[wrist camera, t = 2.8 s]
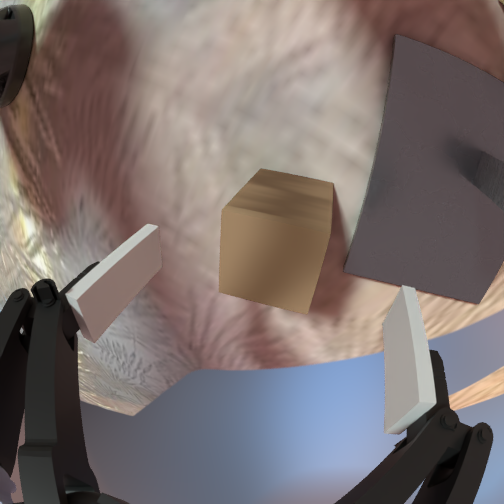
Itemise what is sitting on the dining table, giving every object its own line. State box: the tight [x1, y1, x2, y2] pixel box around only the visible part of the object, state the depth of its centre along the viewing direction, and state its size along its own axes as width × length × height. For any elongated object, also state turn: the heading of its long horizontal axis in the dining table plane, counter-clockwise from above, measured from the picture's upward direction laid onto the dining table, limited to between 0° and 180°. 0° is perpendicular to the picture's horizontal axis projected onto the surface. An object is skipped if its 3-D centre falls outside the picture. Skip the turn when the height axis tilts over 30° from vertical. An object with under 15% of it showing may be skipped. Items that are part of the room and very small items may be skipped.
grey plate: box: [343, 34, 504, 304], centre depth 12 cm, size 14×18×8 cm
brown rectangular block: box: [219, 169, 333, 314], centre depth 17 cm, size 5×5×8 cm
